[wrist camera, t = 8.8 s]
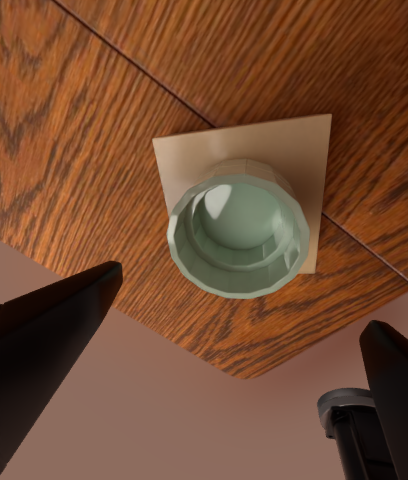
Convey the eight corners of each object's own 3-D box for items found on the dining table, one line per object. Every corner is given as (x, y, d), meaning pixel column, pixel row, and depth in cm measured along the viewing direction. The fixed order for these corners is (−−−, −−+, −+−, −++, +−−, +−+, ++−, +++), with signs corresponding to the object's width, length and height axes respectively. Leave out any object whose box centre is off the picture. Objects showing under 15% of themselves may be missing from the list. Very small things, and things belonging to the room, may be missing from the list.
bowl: (291, 255, 16) (304, 300, 12) (196, 256, 17) (180, 296, 14) (297, 151, 13) (316, 167, 9) (181, 163, 14) (154, 181, 10)
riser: (306, 252, 19) (315, 273, 16) (189, 253, 21) (180, 273, 18) (318, 113, 14) (332, 113, 12) (167, 134, 17) (151, 138, 14)
